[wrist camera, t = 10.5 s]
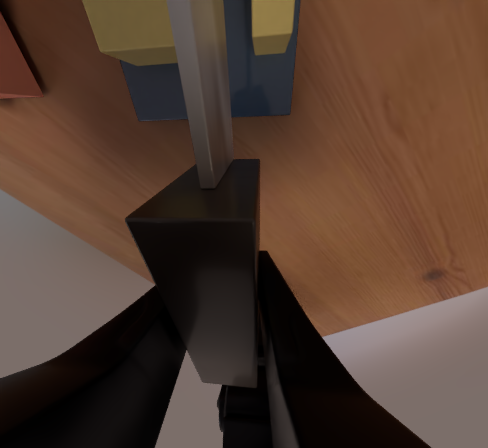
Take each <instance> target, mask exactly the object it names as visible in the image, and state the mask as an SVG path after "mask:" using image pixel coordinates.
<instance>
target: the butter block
mask: <svg viewBox="0 0 488 448" xmlns="http://www.w3.org/2000/svg"><path fill="white" fill-rule="evenodd" d="M82 2H83V4H84V7H85V10H86V13H87V16H88V19H89V22H90V24H91V27H92V30H93V33H94V36H95V39H96V42H97V45H98V47H99V50H100V52H102V53H104V54H107V55H109V56H112V57H115V58H117V59H120V60H123V61H125V62H128V63H130V64H133V65H136V66H144V65H157V64H170V63H178V61H177V56H176V50H175V45H174V39H173V34H172V28H171V23H170V17H169V12H168V6H167V1H166V0H82Z"/></svg>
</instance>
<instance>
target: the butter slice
mask: <svg viewBox="0 0 488 448" xmlns="http://www.w3.org/2000/svg"><path fill="white" fill-rule="evenodd" d="M294 6H295V0H252V39H253V46H254V53H255V55H267V54H279V53H285V51H286V48H287V45H288V43H289V40H290V37H291V34H292V32H293V19H294Z"/></svg>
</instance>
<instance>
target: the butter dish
mask: <svg viewBox="0 0 488 448" xmlns="http://www.w3.org/2000/svg"><path fill="white" fill-rule="evenodd" d="M223 3H224V18H225V33H226V47H227V62H228V76H229V91H230V105H231V117H253V116H277V115H290V112H291V101H292V90H293V79H294V67H295V56H296V45H297V34H298V23H299V11H300V0H295V6H294V19H293V32H292V34H291V37H290V40H289V43H288V45H287V48H286V51H285V53H279V54H267V55H255V53H254V46H253V39H252V0H223ZM119 60H120V59H119ZM120 63H121V66H122V69H123V73H124V76H125V79H126V82H127V86H128V89H129V92H130V95H131V98H132V102H133V105H134V108H135V111H136V115H137V118H138V121H159V120H182V119H188V116H187V110H186V105H185V99H184V94H183V88H182V83H181V77H180V72H179V66H178V63H170V64H157V65H144V66H136V65H133V64H130V63H128V62H125V61H123V60H120Z"/></svg>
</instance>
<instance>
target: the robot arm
mask: <svg viewBox="0 0 488 448" xmlns="http://www.w3.org/2000/svg"><path fill="white" fill-rule="evenodd" d="M258 300H259V321H258V367H257V388H250V387H240V386H231V385H222V387H221V391H220V394H219V397H218V400H217V407H218V409H219V426H220V430H221V432H223V448H431V447H430V446H429V445H428V444H426V443H425V442H424V441H423V440H422V439H420V438H419V437H418V436H417V435H416V434H414V433H413V432H412V431H411V430H409V429H408V428H407V427H406V426H405V425H403V424H402V423H401V422H400V421H399V420H397V419H396V418H395V417H394V416H392V415H391V414H390V413H389V412H387V411H386V410H385V409H384V408H383V407H382V406H380V405H379V404H378V403H377V402H376V401H374V400H373V399H372V398H371V397H370V396H369V395H368V394H367V393H366V392H365V391H364V390H363V389H362V388H361V387H360V386H359V385H358V383H357V382H356V381H355V380H354V379H353V378H352V376H351V375H350V374H349V372H348V371H347V370H346V368H345V367H344V366H343V364H342V363H341V362H340V361H339V359H338V358H337V357H336V355H335V354H334V353H333V352H332V350H331V349H330V347H329V346H328V345H327V344H326V342H325V341H324V340H323V338H322V337H321V336H320V334H319V333H318V331H317V330H316V329H315V327H314V326H313V325H312V323H311V322H310V320H309V318H308V317H307V315H306V314H305V312H304V311H303V309H302V307H301V306H300V305H299V303H298V301H297V299H296V298H295V296H294V294H293V293H292V291H291V289H290V288H289V286H288V285H287V283H286V281H285V280H284V278H283V276H282V275H281V273H280V271H279V270H278V268H277V267H276V265H275V263H274V262H273V260H272V258H271V257H270V255H269V253H268V252H267V251H259V283H258ZM186 350H187V349H186V347H185V345H184V343H183V341H182V339H181V337H180V335H179V333H178V330H177V328H176V326H175V324H174V322H173V320H172V318H171V316H170V314H169V312H168V310H167V308H166V306H165V303H164V301H163V299H162V297H161V295H160V293H159V291H158V289H157V287H156V285H155V286H154V287H153V288H151V289H150V290H149V291H148V292H147V293H145V294H144V295H143V296H141V297H140V298H139V299H138V300H137V301H135V302H134V303H133V304H131V305H130V306H129V307H128V308H126V309H125V310H124V311H122V312H121V313H120V314H118V315H117V316H116V317H114V318H113V319H112V320H110V321H109V322H107V323H106V324H104V325H103V326H102V327H100V328H99V329H97V330H96V331H94V332H93V333H92V334H91V335H89V336H87V337H86V338H85V339H83V340H82V341H80V342H79V343H77V344H76V345H75V346H73V347H72V348H70V349H69V350H67V351H66V352H64V353H62V354H61V355H59V356H57V357H55V358H53V359H51V360H49V361H47V362H44V363H42V364H40V365H37V366H34V367H31V368H28V369H26V370H23V371H20V372H17V373H14V374H12V375H9V376H6V377H3V378H0V448H155V445H156V442H157V439H158V436H159V433H160V430H161V427H162V424H163V421H164V418H165V415H166V411H167V408H168V405H169V402H170V399H171V396H172V393H173V390H174V386H175V384H176V380H177V377H178V374H179V371H180V368H181V365H182V362H183V359H184V356H185V353H186Z"/></svg>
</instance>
